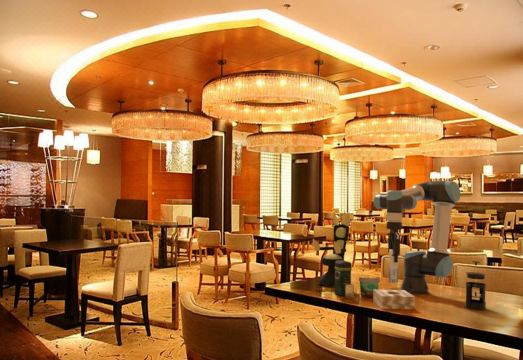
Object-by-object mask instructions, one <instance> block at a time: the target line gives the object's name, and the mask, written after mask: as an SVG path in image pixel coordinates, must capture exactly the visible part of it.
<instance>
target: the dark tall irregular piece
mask: <svg viewBox="0 0 523 360" xmlns="http://www.w3.org/2000/svg"><path fill="white" fill-rule="evenodd" d="M339 220H340V219H339V218H338V216H337V215H336V212H335V211H334V212H333V215H332V224H333V225H334V226H333V245H332V246H321V245H320V244H319V242H318V241H317V240H315V239H314V238H312V244H311V245H312V247H313V251H314V252H315V251H318V252H319V251H332V253H330V254H326V255H325V256H324V257H322V259H321V264H322V265H323V266H324V267H325V266H326V267H327V271H326V272H325V273H324V274H323V275H321V277H319V279H318V284H319V285H320V286H323V287H328V288H329V287H331V288H334V285H335V262H336V261H337V260H344V261H345V256H346V255H345V253H346V252H347V248H346V247H347V242H348V238H349V233H350V227H349V226H350V224H352V222H351V218H350V213H349V211H348V212H347V213H346V210H344V212H343V214H342V216H341V222H340V221H339ZM340 223H341V224H340Z"/></svg>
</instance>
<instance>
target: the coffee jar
mask: <svg viewBox="0 0 523 360" xmlns="http://www.w3.org/2000/svg"><path fill="white" fill-rule="evenodd" d="M352 269H353V267H352V262H350V261H348V260H345V259H344V260H337V261H336V262H335V285H334V287H333V291H334V294H335V295H338V296H344V297H345V289H346V284H352Z"/></svg>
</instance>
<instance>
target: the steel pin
mask: <svg viewBox="0 0 523 360" xmlns="http://www.w3.org/2000/svg"><path fill="white" fill-rule="evenodd" d="M392 254H393V249H389V252H388V283H393V284H394V283H395V284H397V283H398V282H399V268H398V269H392Z"/></svg>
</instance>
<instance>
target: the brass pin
mask: <svg viewBox="0 0 523 360" xmlns="http://www.w3.org/2000/svg"><path fill="white" fill-rule="evenodd" d="M344 297H345V299H348V300H354V299H355V285H354V284H353V283H351V284H346V289H345V296H344Z"/></svg>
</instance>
